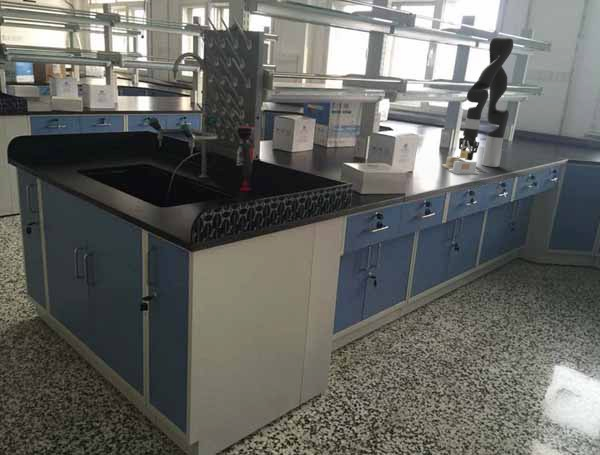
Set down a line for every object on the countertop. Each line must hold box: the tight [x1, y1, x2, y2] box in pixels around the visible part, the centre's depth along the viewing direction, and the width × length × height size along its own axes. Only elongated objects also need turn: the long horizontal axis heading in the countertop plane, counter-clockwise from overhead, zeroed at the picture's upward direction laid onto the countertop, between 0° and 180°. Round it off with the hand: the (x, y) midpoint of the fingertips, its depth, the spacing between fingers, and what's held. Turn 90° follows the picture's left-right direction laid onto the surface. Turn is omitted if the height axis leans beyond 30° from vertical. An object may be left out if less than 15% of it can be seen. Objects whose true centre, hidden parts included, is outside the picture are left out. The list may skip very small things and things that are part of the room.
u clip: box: [459, 149, 474, 161], centre depth 282 cm, size 4×6×4 cm
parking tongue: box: [441, 156, 460, 170], centre depth 296 cm, size 8×8×6 cm
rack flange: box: [448, 160, 480, 175], centre depth 285 cm, size 14×8×6 cm, turn 111°
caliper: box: [456, 156, 490, 174], centre depth 296 cm, size 20×1×6 cm, turn 52°
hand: (465, 158), depth 283 cm, fingers closed on u clip, 5 cm apart
